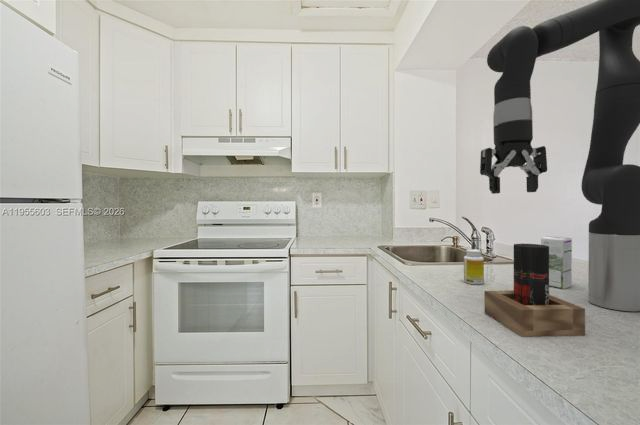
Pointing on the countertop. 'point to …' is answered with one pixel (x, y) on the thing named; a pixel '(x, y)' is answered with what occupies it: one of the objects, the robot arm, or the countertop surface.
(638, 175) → the robot arm
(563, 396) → the countertop surface
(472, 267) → the supplement bottle
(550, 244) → the syrup box
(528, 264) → the deodorant
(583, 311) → the socket block
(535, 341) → the countertop surface
